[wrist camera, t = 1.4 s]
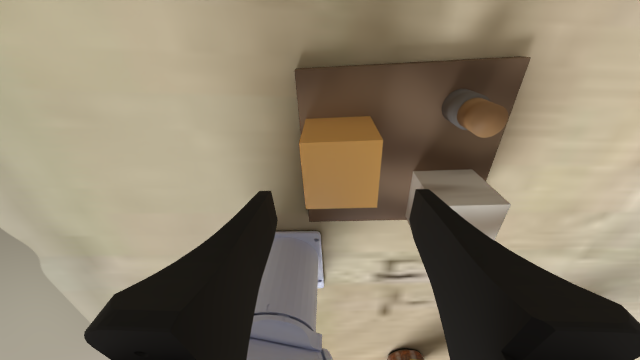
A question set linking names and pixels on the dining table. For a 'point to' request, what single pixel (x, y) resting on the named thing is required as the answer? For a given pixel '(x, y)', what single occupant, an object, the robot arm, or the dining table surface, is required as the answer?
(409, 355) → the sauce bottle
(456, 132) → the board
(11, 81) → the dining table surface
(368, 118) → the kraft paper cube
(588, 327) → the robot arm
